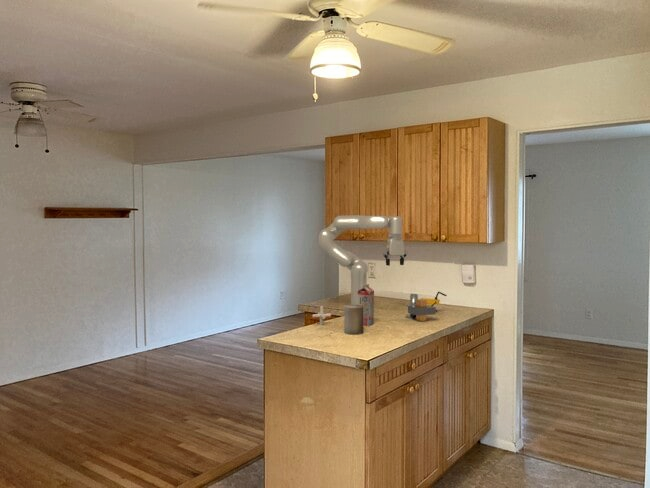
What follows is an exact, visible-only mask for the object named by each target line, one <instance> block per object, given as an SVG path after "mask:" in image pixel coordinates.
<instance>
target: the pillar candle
mask: <svg viewBox="0 0 650 488" xmlns="http://www.w3.org/2000/svg"><path fill="white" fill-rule="evenodd" d="M344 308H345V311H344V329H343V330H344V333H345V334H347V335H362V334H363V333H364V326H363V305H354V304H352V305H351V304H346V305H344V307H343V309H344Z"/></svg>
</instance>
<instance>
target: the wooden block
mask: <svg viewBox="0 0 650 488" xmlns="http://www.w3.org/2000/svg"><path fill="white" fill-rule="evenodd" d="M427 305H428V303H427V300H425V299H420V298H418V299H417V307H427ZM415 320H416V321H418V322H426V321H427V315H421V316H416V319H415Z"/></svg>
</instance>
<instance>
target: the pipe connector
mask: <svg viewBox="0 0 650 488" xmlns="http://www.w3.org/2000/svg"><path fill="white" fill-rule="evenodd" d="M311 316H312V318H313V319H314V318H319V325H320V326H324V319H326V318H329V317H330V318H331V317H332V314H331V313H324V306H323V305H320V306H319V311H318V312H317V313H315V314H312V315H311Z"/></svg>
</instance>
